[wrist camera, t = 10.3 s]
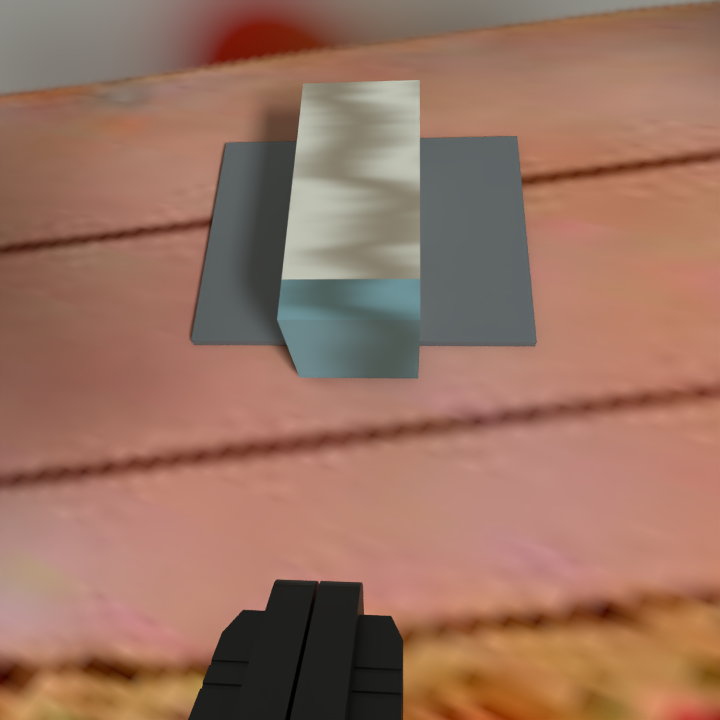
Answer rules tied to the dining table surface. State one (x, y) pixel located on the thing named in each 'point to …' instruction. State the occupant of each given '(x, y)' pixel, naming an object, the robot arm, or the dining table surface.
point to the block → (354, 233)
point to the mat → (437, 245)
